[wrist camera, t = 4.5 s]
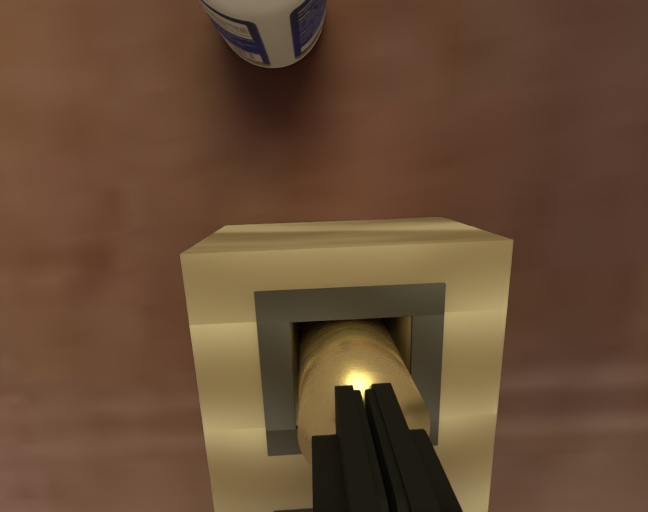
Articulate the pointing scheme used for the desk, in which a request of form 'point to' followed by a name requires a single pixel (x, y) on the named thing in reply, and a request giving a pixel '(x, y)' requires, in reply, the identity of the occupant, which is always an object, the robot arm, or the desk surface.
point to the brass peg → (349, 374)
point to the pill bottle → (268, 28)
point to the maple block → (341, 304)
